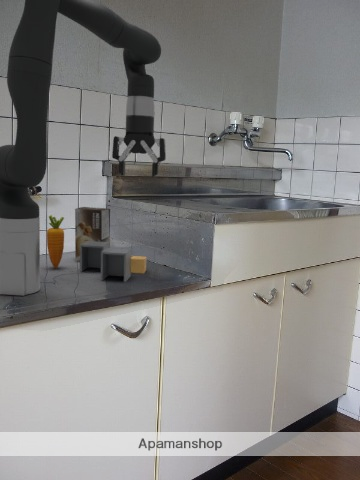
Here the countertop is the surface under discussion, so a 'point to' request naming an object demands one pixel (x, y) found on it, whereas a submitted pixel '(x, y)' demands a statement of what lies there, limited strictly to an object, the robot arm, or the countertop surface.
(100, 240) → the coffee box
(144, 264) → the cube
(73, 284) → the countertop surface
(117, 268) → the cube hood
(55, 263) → the carrot
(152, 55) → the robot arm
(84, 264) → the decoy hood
